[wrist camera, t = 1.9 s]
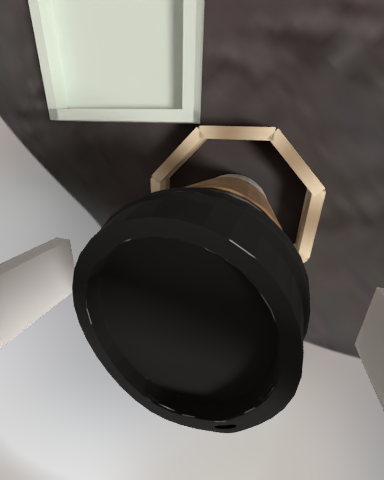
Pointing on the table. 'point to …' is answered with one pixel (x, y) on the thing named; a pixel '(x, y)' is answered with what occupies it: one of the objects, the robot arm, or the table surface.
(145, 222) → the coffee cup
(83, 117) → the tray
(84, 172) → the table surface
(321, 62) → the table surface
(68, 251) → the robot arm
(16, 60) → the table surface
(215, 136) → the holder ring
